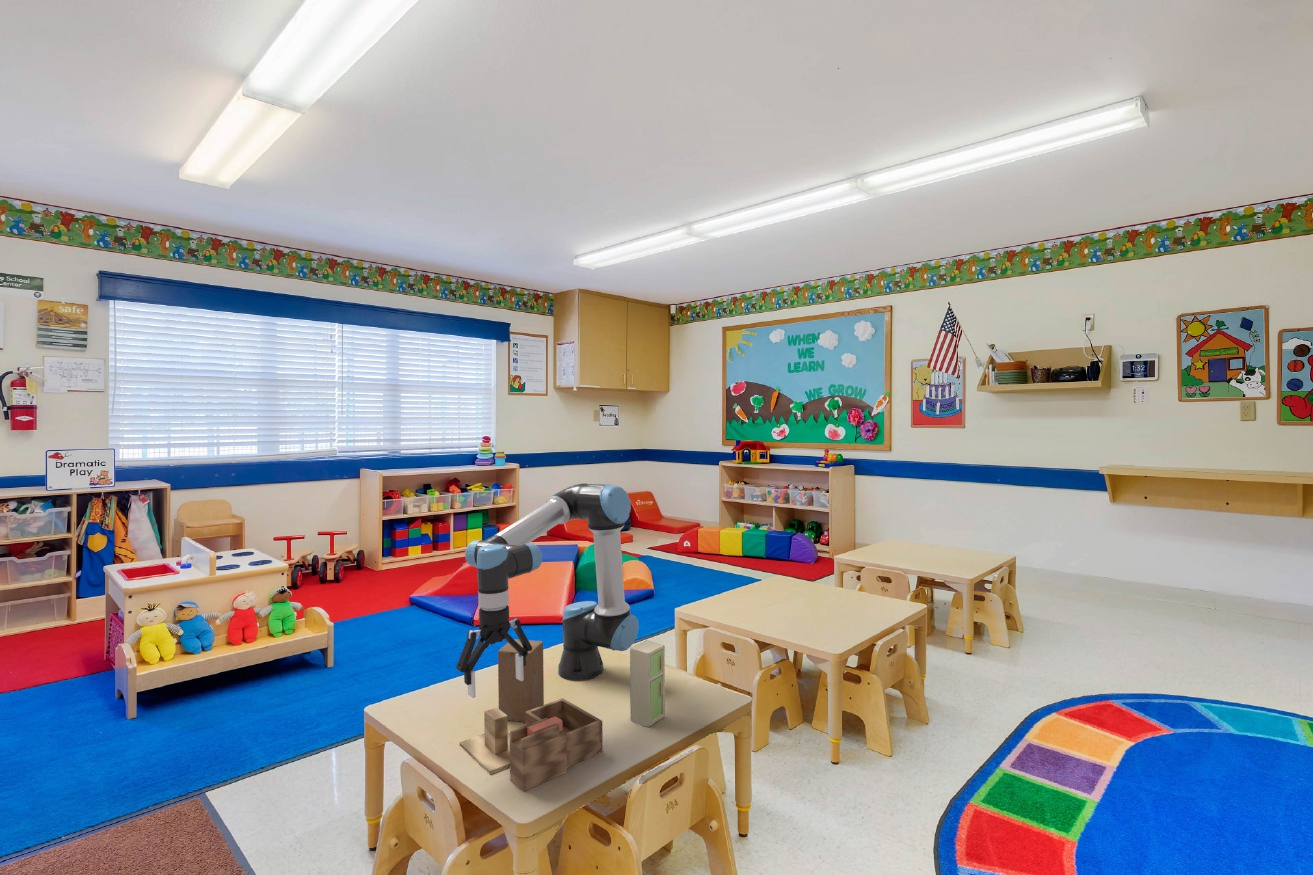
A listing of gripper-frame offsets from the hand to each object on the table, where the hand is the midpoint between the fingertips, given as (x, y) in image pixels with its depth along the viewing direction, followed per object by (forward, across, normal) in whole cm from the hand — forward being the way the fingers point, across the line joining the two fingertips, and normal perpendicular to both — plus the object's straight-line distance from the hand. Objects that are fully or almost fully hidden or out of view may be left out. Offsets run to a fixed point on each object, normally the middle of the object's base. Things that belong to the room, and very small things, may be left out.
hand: (496, 687), depth 162 cm
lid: (+17, +1, 0) cm, 17 cm away
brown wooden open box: (+16, -7, +11) cm, 21 cm away
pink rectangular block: (+7, -3, +18) cm, 19 cm away
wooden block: (+17, -15, -14) cm, 26 cm away
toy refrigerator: (+18, -39, +14) cm, 45 cm away
